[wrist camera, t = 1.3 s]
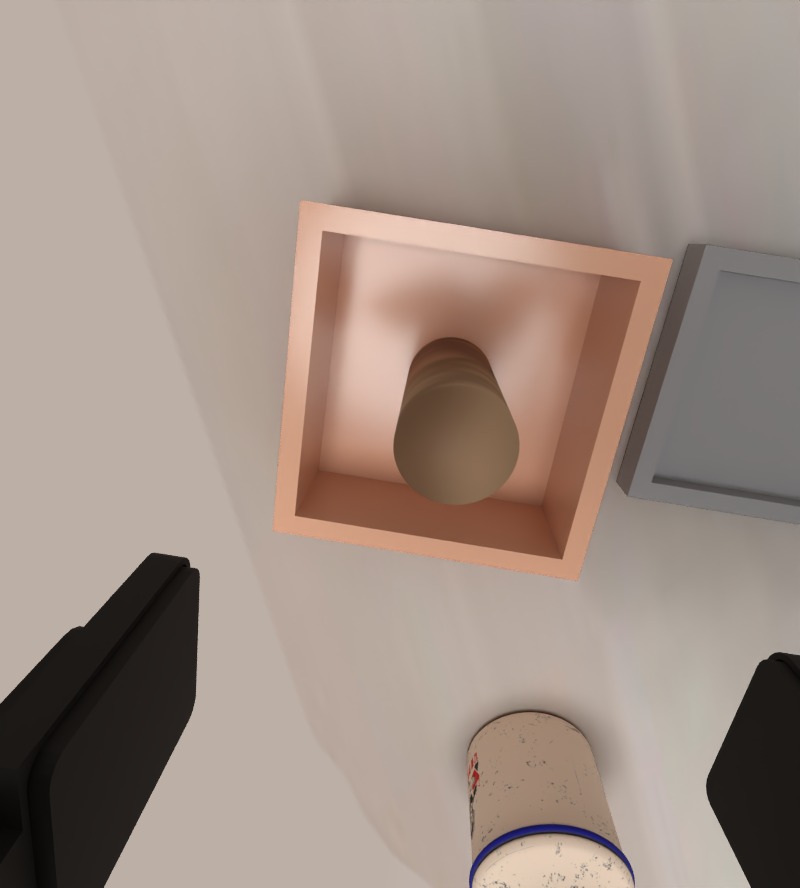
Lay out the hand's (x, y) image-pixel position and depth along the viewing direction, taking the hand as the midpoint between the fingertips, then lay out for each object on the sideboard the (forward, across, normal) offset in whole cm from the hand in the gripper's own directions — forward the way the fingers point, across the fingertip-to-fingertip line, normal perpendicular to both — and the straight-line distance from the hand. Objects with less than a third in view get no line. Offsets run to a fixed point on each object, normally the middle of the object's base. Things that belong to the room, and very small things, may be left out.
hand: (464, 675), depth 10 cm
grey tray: (+23, -17, -2) cm, 29 cm away
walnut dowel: (+23, 0, 0) cm, 23 cm away
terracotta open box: (+23, 0, 0) cm, 23 cm away
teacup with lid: (+23, -11, +27) cm, 38 cm away
